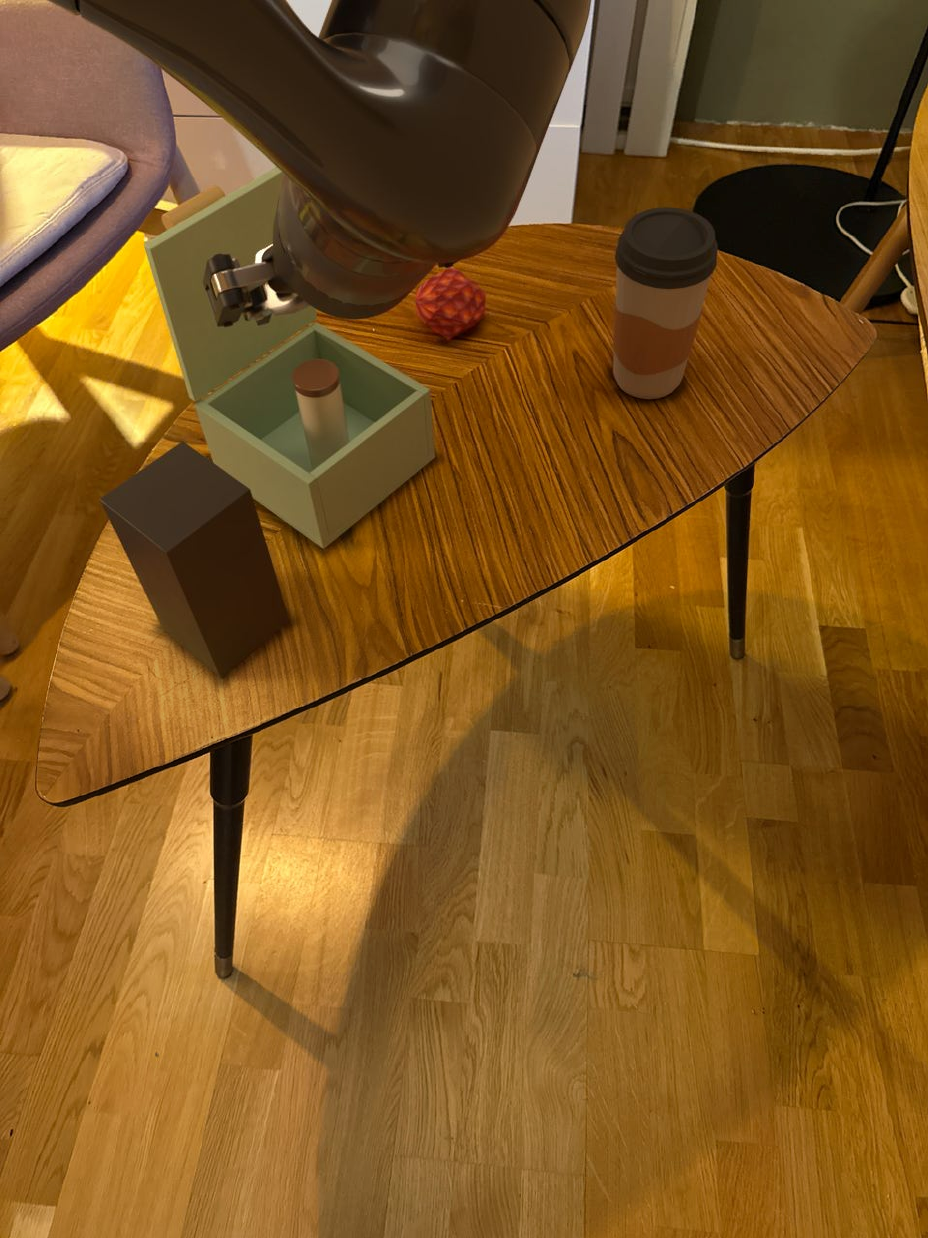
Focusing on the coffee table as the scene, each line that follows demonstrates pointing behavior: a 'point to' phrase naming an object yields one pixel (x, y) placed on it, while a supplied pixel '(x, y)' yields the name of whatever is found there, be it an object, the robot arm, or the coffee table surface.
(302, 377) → the canister
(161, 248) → the chest lid
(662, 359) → the coffee cup
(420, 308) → the red faceted ball
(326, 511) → the chest
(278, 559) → the coffee table surface
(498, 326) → the coffee table surface
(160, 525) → the block
